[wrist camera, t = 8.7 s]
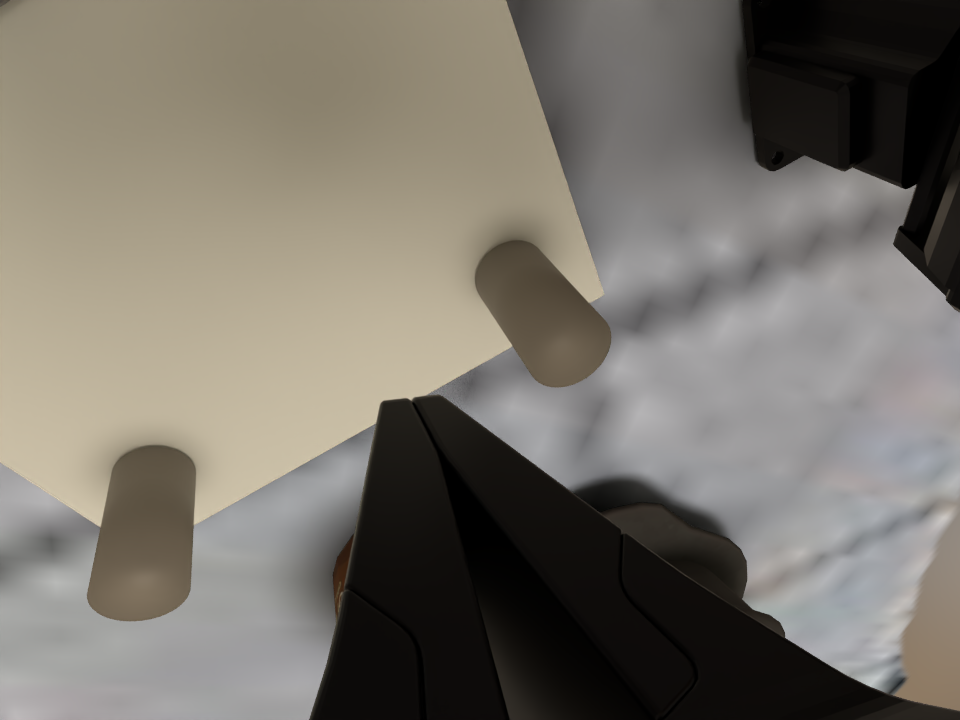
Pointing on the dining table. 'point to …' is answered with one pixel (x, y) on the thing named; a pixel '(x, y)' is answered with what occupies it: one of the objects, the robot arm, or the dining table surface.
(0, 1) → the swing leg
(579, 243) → the cream square peg board
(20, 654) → the dining table surface
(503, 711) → the robot arm
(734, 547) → the casserole
